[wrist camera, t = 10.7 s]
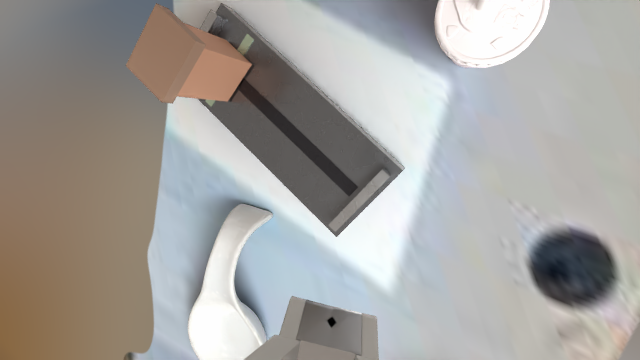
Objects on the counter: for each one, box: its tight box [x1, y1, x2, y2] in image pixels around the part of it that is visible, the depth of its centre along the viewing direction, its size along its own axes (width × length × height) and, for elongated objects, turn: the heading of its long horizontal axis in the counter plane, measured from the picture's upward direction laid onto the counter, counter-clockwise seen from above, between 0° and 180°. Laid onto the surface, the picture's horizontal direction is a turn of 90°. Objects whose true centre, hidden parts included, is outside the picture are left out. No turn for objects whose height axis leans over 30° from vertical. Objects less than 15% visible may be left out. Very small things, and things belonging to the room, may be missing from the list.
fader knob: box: [126, 3, 252, 103], centre depth 30 cm, size 5×6×9 cm
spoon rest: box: [188, 204, 273, 360], centre depth 38 cm, size 24×12×7 cm, turn 170°
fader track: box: [197, 3, 404, 237], centre depth 34 cm, size 26×10×4 cm, turn 49°
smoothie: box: [434, 0, 550, 68], centre depth 22 cm, size 6×6×14 cm
